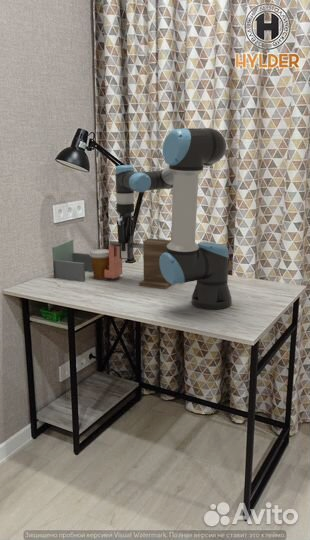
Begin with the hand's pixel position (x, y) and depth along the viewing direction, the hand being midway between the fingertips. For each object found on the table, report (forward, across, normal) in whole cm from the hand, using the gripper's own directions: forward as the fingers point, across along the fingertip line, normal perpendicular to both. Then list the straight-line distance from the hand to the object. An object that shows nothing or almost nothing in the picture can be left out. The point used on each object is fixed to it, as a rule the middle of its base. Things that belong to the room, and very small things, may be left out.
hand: (126, 256), depth 230 cm
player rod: (+9, 0, +6) cm, 11 cm away
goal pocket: (+10, 0, -24) cm, 27 cm away
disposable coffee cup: (+11, 0, -13) cm, 17 cm away
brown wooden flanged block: (+11, 0, +14) cm, 18 cm away
